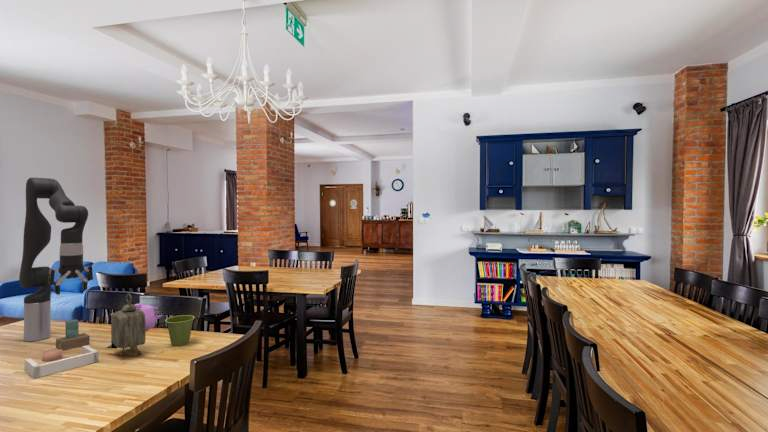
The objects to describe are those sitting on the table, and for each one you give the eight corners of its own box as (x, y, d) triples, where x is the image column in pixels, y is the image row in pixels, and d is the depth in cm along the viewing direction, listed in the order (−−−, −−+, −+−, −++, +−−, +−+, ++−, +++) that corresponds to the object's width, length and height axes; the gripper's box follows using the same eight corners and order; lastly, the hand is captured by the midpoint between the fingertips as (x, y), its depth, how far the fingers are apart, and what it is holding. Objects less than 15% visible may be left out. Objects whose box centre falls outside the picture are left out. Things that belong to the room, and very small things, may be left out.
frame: (24, 370, 142) (24, 359, 142) (86, 354, 157) (86, 345, 157) (34, 378, 134) (34, 367, 134) (98, 361, 150) (98, 351, 150)
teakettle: (164, 323, 203) (164, 300, 203) (143, 333, 186) (143, 308, 186) (132, 323, 204) (132, 300, 204) (108, 333, 187) (108, 307, 187)
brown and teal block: (55, 347, 166) (55, 322, 166) (83, 341, 174) (83, 317, 174) (61, 351, 162) (61, 325, 162) (89, 344, 170) (89, 320, 170)
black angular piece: (116, 351, 164) (116, 340, 164) (99, 350, 164) (99, 340, 164) (135, 341, 176) (135, 331, 176) (119, 341, 176) (119, 331, 176)
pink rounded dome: (40, 360, 152) (40, 352, 152) (59, 355, 157) (59, 348, 157) (45, 363, 149) (45, 355, 149) (64, 358, 154) (64, 351, 154)
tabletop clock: (145, 355, 157) (145, 294, 157) (119, 361, 151) (119, 298, 151) (135, 346, 167) (135, 289, 167) (110, 352, 161) (110, 292, 160)
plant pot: (158, 345, 168) (158, 320, 168) (182, 337, 179) (182, 314, 179) (178, 349, 164) (178, 323, 164) (200, 341, 175) (200, 316, 175)
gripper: (89, 251, 166) (88, 288, 166) (46, 254, 154) (46, 294, 155) (95, 253, 161) (95, 291, 162) (52, 256, 150) (51, 297, 150)
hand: (71, 292), depth 158 cm, fingers open, 8 cm apart
